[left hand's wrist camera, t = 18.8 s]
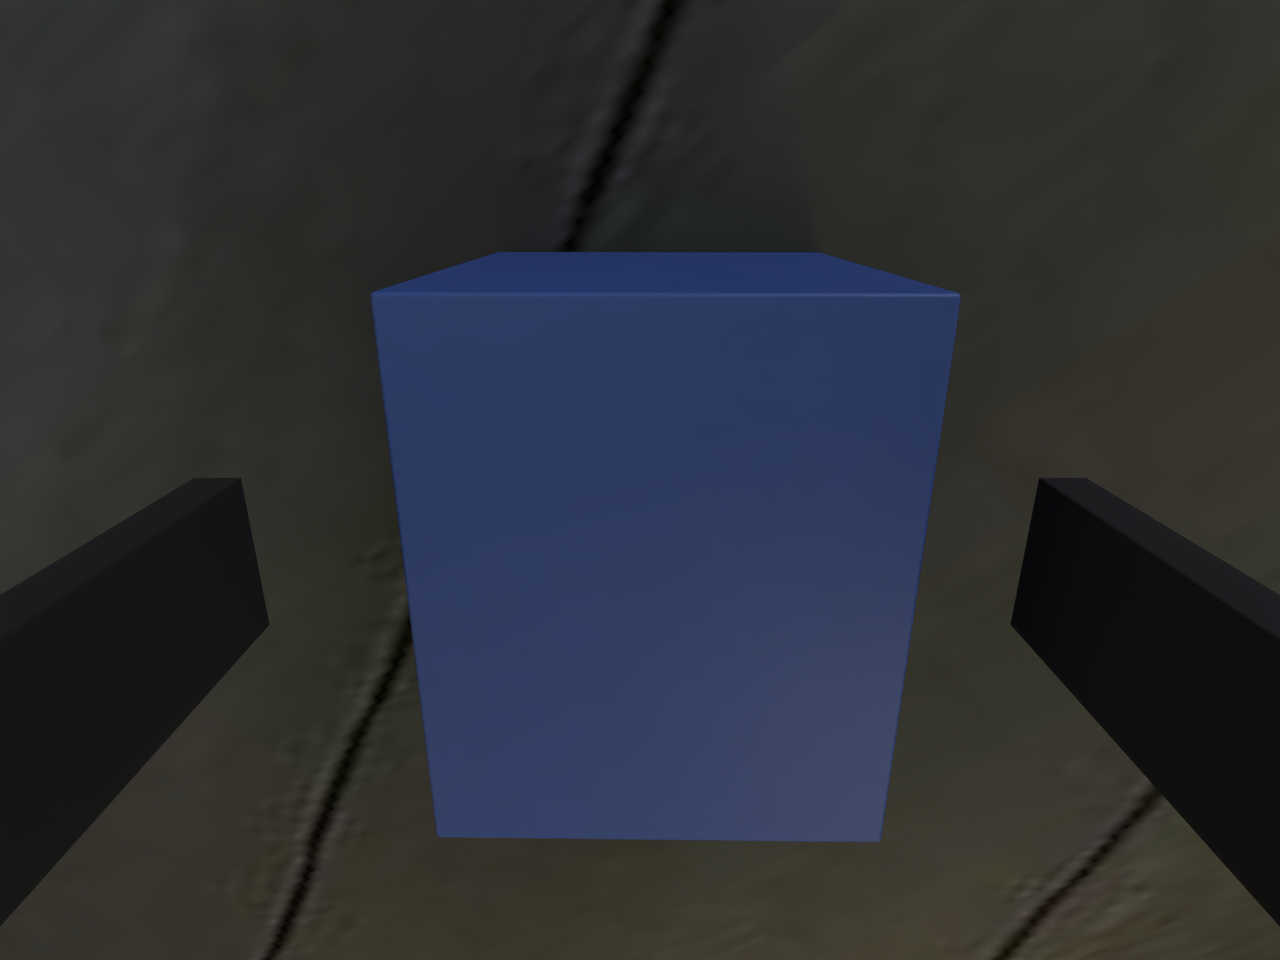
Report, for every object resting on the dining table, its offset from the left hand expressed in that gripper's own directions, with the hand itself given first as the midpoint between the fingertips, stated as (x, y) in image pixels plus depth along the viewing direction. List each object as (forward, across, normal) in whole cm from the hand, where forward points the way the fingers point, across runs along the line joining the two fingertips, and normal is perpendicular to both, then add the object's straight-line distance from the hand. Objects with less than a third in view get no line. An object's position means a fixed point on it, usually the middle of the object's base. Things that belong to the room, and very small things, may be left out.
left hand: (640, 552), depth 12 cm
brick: (+6, 0, 0) cm, 6 cm away
